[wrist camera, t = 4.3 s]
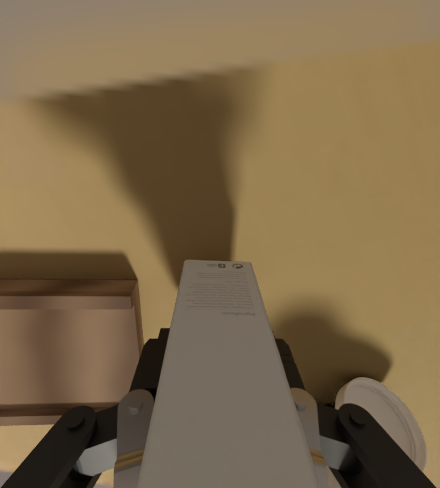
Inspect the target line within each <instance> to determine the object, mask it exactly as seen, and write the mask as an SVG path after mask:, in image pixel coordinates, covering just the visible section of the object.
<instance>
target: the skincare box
mask: <svg viewBox="0 0 440 488" xmlns="http://www.w3.org/2000/svg"><path fill="white" fill-rule="evenodd" d="M137 488H320V485H319V482H318V478H317V474H316V471H315V467H314V464H313V461H312V457H311V454H310V451H309V447H308V444H307V441H306V437H305V434H304V431H303V428H302V425H301V422H300V419H299V416H298V413H297V409H296V406H295V403H294V400H293V397H292V394H291V390H290V387H289V384H288V381H287V378H286V374H285V371H284V368H283V364H282V361H281V358H280V354H279V351H278V348H277V345H276V342H275V339H274V336H273V333H272V329H271V326H270V323H269V320H268V316H267V313H266V310H265V307H264V303H263V300H262V296H261V293H260V290H259V287H258V283H257V280H256V277H255V274H254V271H253V267H252V264H251V263H250V262H234V261H207V260H185V261H184V265H183V270H182V274H181V279H180V284H179V289H178V294H177V298H176V303H175V308H174V312H173V317H172V321H171V326H170V331H169V336H168V341H167V346H166V350H165V355H164V360H163V365H162V369H161V374H160V379H159V384H158V388H157V393H156V398H155V403H154V407H153V412H152V417H151V421H150V426H149V431H148V436H147V440H146V445H145V450H144V455H143V460H142V464H141V469H140V474H139V479H138V484H137Z"/></svg>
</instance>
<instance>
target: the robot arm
mask: <svg viewBox="0 0 440 488" xmlns="http://www.w3.org/2000/svg"><path fill="white" fill-rule="evenodd" d="M169 331H170V328H161V329H160V333H159V337H158V339H149V340H148V341H147V342H146V344H145V345H144V346H143V349H142V352H141V356H140V358H139V361H138V365H137V368H136V371H135V374H134V377H133V380H132V383H131V387H130V390H129V392H128V393H127V394H126V395H125V396H124V397H123V398H122V399H121V400H120V402H119V403H118V404H117V405H115V406H113V407H110V408H108V409H104V410H101V411H98V412H95V411H94V409H93V408H91V407H90V406H84V405H83V406H77V407H75V408H72V409H70V410H69V411H67V412H66V413H65V414H64V415H62V417H61V418H60V419H59V420H58V421H57V422H56V423H55V425H54V426H53V427H52V428H51V429H50V430H49V432H48V433H47V434H46V435H45V436H44V438H43V439H42V440H41V441H40V442H39V443H38V445H37V446H36V447H35V448H34V449H33V450H32V452H31V453H30V454H29V455H28V456H27V457H26V459H25V460H24V461H23V462H22V463H21V465H20V466H19V467H18V468H17V469H16V470H15V472H14V473H13V474H12V475H11V476H10V477H9V479H8V480H7V481H6V482H5V483H4V485H3V486H2V487H1V488H93V487H94V485H95V484H96V482H97V480H98V479H99V477H100V475H101V473H102V472H104V471H106V470H109V469H111V468H114V488H137V484H138V479H139V474H140V469H141V464H142V460H143V455H144V450H145V445H146V440H147V436H148V431H149V426H150V421H151V417H152V412H153V407H154V403H155V398H156V393H157V388H158V384H159V379H160V374H161V369H162V365H163V360H164V355H165V350H166V346H167V341H168V336H169ZM272 333H273V331H272ZM273 336H274V334H273ZM274 339H275V337H274ZM275 342H276V345H277V348H278V351H279V354H280V358H281V361H282V364H283V368H284V371H285V374H286V378H287V381H288V384H289V387H290V390H291V394H292V397H293V400H294V403H295V406H296V409H297V413H298V416H299V419H300V422H301V425H302V428H303V431H304V434H305V437H306V441H307V444H308V447H309V451H310V454H311V457H312V461H313V464H314V467H315V471H316V474H317V478H318V482H319V485H320V488H329V487H328V477H327V467H326V466H328V467H329V469H330V470H331V472H332V473H333V475H334V477H335V478H336V480H337V481H338V483H339V485H340V486H341V488H436V487H435V486H434V485H433V483H432V482H431V481H430V480H429V479H428V478H427V477H426V476H425V474H424V473H423V472H422V471H421V470H420V469H419V468H418V467H417V466H416V464H415V463H414V462H413V461H412V460H411V459H410V458H409V457H408V455H407V454H406V453H405V452H404V451H403V450H402V449H401V448H400V447H399V445H398V444H397V443H396V442H395V441H394V440H393V439H392V438H391V436H390V435H389V434H388V433H387V432H386V431H385V430H384V429H383V428H382V426H381V425H380V424H379V423H378V422H377V421H376V420H375V419H374V417H373V416H372V415H371V414H370V413H369V412H368V411H367V410H365V409H364V408H362V407H361V406H359V405H356V404H352V403H346V404H343V405H342V406H340V408H339V410H338V409H334V408H331V407H327V406H324V405H321V404H319V403H318V402H316V401H315V400H314V398H313V397H312V396H311V395H310V394H309V393H308V392H306V390H305V388H304V385H303V383H302V380H301V377H300V375H299V372H298V369H297V367H296V364H295V361H294V359H293V356H292V353H291V351H290V348H289V346H288V345H287V344H286V343H285V342H284V340H283V339H275Z"/></svg>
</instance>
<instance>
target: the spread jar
mask: <svg viewBox="0 0 440 488" xmlns="http://www.w3.org/2000/svg"><path fill="white" fill-rule="evenodd" d="M346 403H352V404H356V405H359V406H361V407H362V408H364V409H365V410H367V411H368V412H369V413H370V414H371V415H372V416H373V417H374V419H375V420H376V421H377V422H378V423H379V424H380V425H381V426H382V428H383V429H384V430H385V431H386V432H387V433H388V434H389V435H390V436H391V438H392V439H393V440H394V441H395V442H396V443H397V444H398V445H399V447H400V448H401V449H402V450H403V451H404V452H405V453H406V454H407V455H408V457H409V458H410V459H411V460H412V461H413V462H414V463H415V464H416V466H417V467H418V468H419V469H420V470H421V471H422V472H423V470H424V469H425V466H426V462H427V449H426V444H425V440H424V437H423V434H422V431H421V429H420V427H419V425H418V423H417V421H416V419H415V418H414V416H413V414H412V413H411V411H410V410H409V409H408V407H407V406H406V405H405V403H404V402H403V401H402V400H401V399H400V398H399V397H398V396H397V395H396V394H395V393H394V392H393V391H392V390H390V389H389V388H388V387H386V386H385V385H383V384H382V383H380V382H378V381H376V380H373V379H371V378H366V377H358V378H355V379H353V380H351V381H350V382H348V383H347V384H345V385H344V386H343V387H342V388H340V390H339V391H338V393H337V396H336V400H335V406H327V407H331V408H334V409H338V410H339V408H340V406H342V405H343V404H346ZM326 467H327V477H328V487H329V488H341V486H340V485H339V483H338V481H337V480H336V478H335V477H334V475H333V473H332V472H331V470H330V469H329V467H328V466H326Z"/></svg>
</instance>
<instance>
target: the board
mask: <svg viewBox="0 0 440 488" xmlns="http://www.w3.org/2000/svg"><path fill="white" fill-rule="evenodd" d="M143 346H144V342H143V331H142V320H141V309H140V297H139V286H138V280H48V279H0V426H9V425H46V424H55V423H56V422H57V421H58V420H59V419H60V418H61V417H62V415H64V414H65V413H66V412H67V411H69V410H70V409H72V408H75V407H77V406H83V405H84V406H90V407H91V408H93V409H94V411H95V412H98V411H101V410H104V409H108V408H110V407H113V406H115V405H117V404H118V403H119V402H120V400H121V399H122V398H123V397H124V396H125V395H126V394H127V393H128V392H129V390H130V387H131V383H132V380H133V377H134V374H135V371H136V368H137V365H138V361H139V358H140V356H141V352H142V349H143Z"/></svg>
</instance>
